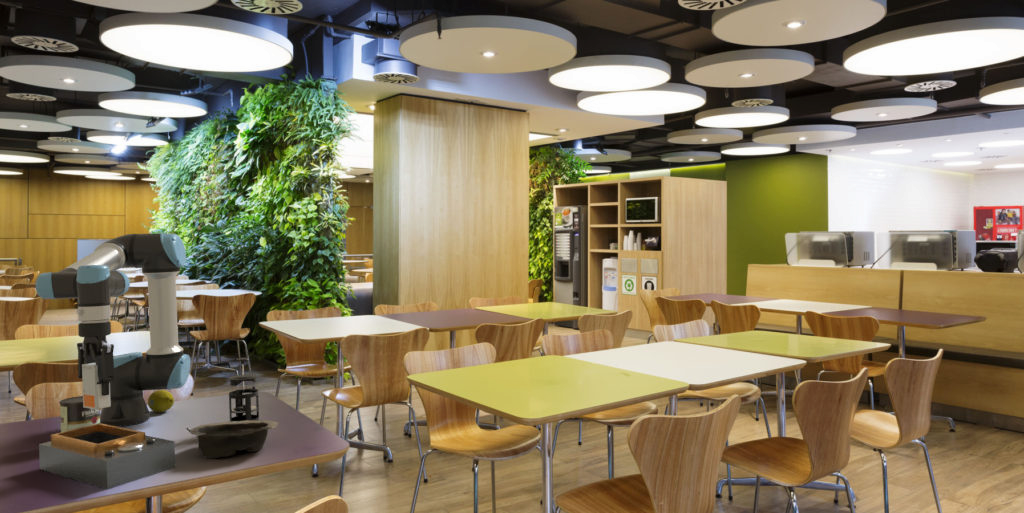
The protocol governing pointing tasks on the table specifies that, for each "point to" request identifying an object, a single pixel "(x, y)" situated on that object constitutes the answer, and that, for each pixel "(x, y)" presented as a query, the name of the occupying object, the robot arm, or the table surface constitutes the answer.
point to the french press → (239, 397)
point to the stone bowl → (231, 437)
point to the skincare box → (90, 386)
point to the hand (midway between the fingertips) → (96, 405)
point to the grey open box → (106, 455)
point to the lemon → (160, 401)
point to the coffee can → (77, 414)
